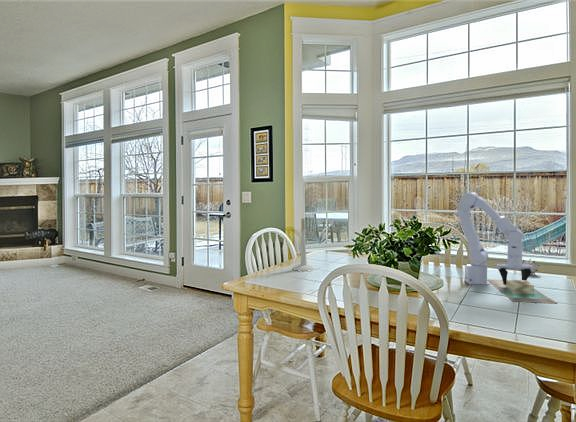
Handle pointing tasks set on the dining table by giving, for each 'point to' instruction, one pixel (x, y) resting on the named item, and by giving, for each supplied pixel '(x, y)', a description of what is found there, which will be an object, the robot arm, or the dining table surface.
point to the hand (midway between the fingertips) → (514, 284)
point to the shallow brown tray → (534, 298)
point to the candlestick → (303, 252)
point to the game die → (529, 262)
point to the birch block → (520, 286)
